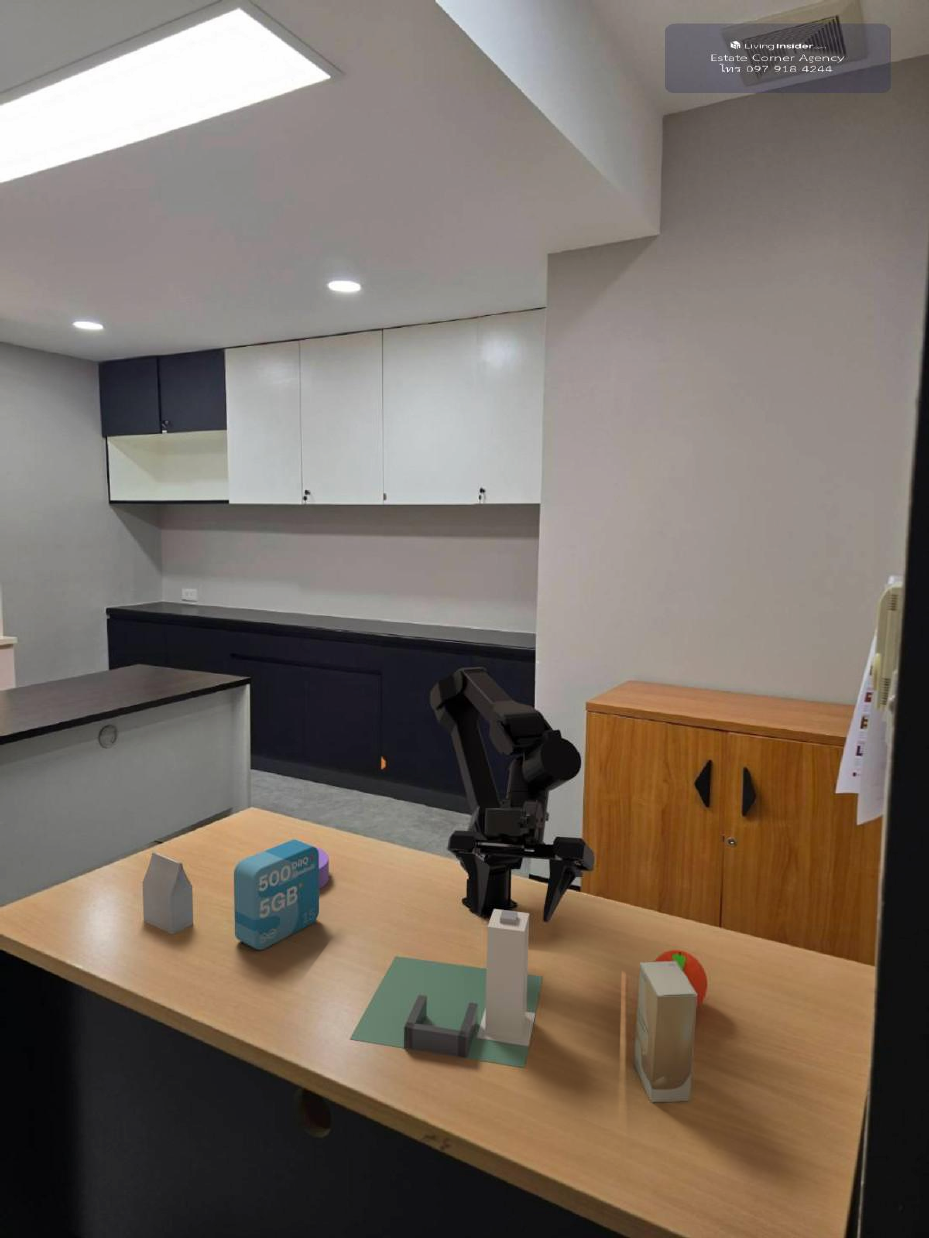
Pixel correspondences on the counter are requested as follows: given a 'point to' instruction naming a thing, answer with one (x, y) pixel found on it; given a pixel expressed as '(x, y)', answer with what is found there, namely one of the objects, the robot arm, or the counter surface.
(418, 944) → the counter surface
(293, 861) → the data package
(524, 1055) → the board
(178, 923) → the grey milk carton
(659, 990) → the skincare box
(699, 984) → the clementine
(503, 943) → the white tall block
